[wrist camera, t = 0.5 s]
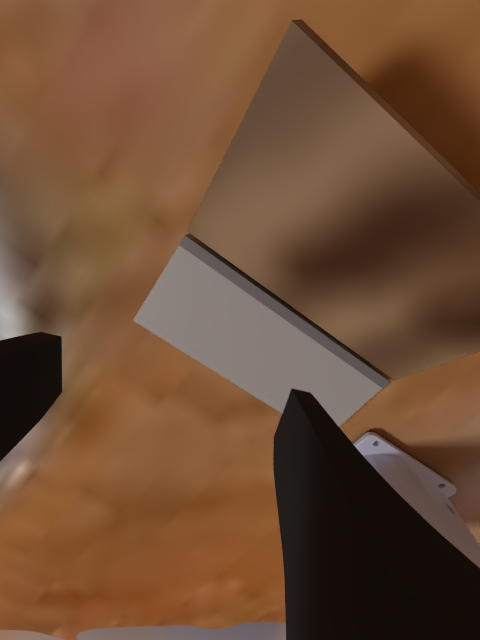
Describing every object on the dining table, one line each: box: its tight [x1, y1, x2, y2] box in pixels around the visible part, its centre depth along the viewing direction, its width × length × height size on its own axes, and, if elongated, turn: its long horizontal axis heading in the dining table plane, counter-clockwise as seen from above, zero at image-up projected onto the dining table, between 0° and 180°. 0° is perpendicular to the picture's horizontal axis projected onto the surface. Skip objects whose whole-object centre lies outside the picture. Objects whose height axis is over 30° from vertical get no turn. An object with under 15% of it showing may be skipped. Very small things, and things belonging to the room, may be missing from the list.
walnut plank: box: [188, 20, 480, 380], centre depth 13 cm, size 15×9×2 cm, turn 55°
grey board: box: [133, 233, 390, 427], centre depth 18 cm, size 15×6×2 cm, turn 55°
